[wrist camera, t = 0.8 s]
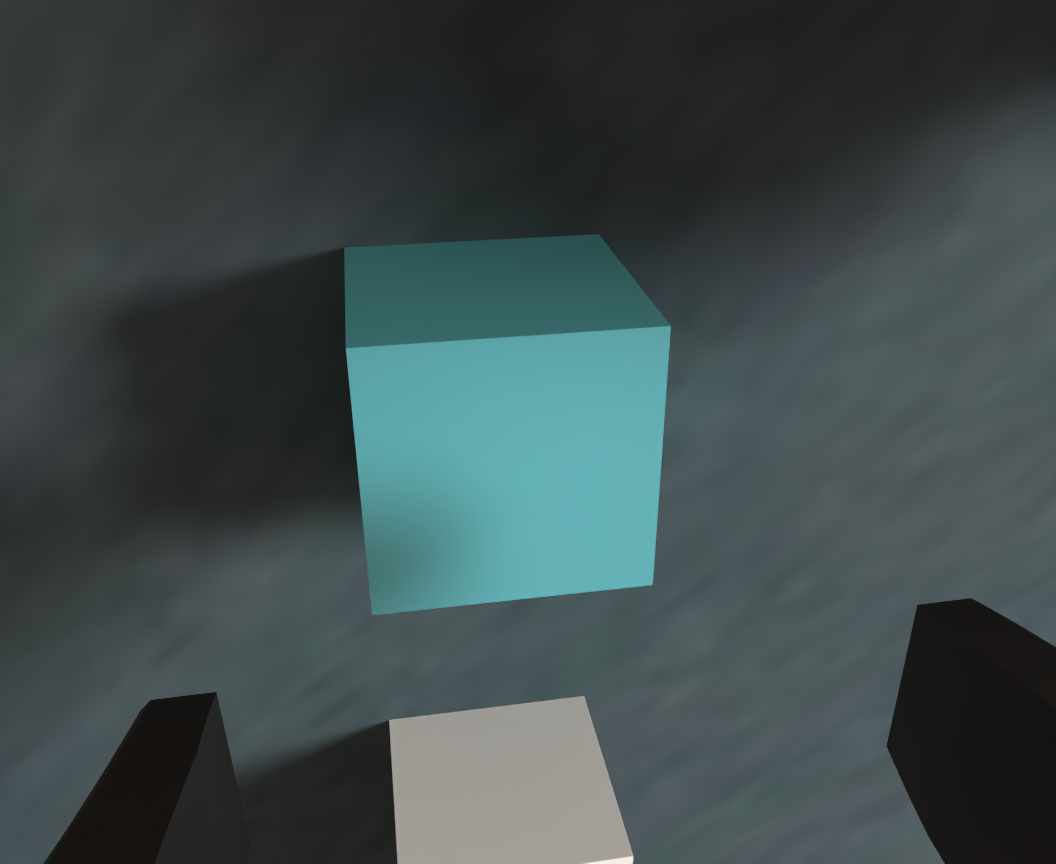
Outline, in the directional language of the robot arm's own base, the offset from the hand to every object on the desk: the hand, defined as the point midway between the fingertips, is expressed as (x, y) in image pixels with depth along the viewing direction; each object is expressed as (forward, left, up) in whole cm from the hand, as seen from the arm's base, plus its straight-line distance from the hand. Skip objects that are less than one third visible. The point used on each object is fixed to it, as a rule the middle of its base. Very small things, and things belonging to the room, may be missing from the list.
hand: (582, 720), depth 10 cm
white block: (0, +11, -10) cm, 15 cm away
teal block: (0, 0, -10) cm, 10 cm away
